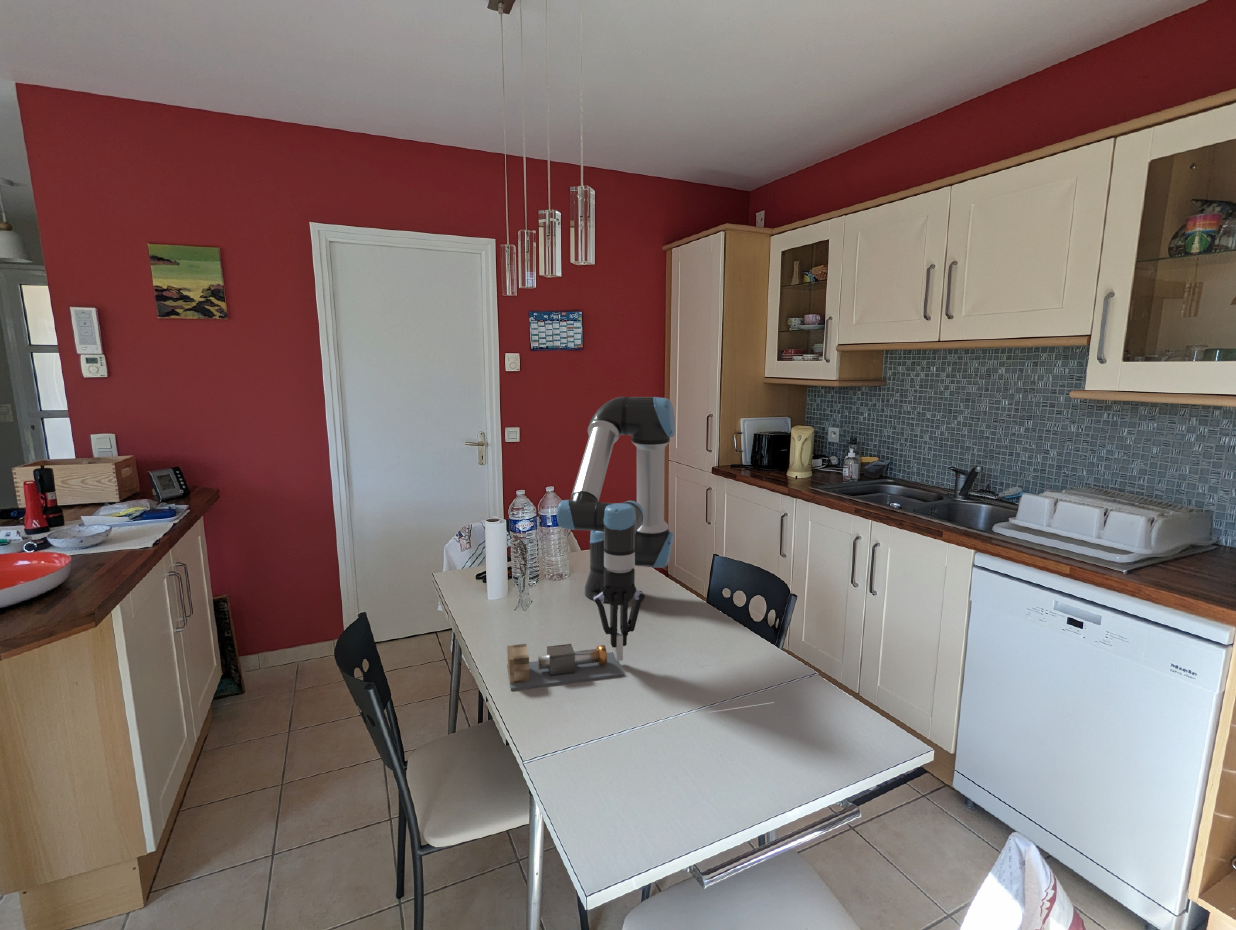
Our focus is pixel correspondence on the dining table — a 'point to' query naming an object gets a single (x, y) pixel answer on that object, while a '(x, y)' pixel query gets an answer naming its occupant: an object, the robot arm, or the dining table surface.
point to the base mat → (581, 674)
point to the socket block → (518, 663)
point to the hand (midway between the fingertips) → (618, 657)
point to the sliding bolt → (579, 657)
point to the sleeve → (561, 660)
